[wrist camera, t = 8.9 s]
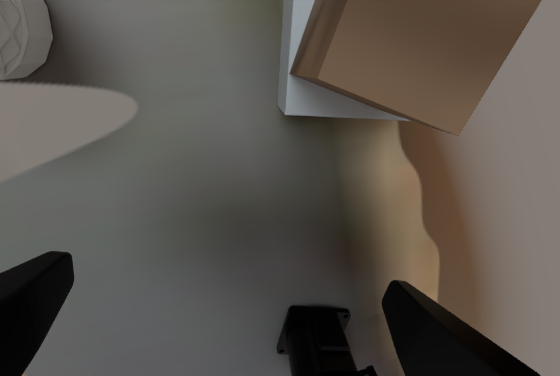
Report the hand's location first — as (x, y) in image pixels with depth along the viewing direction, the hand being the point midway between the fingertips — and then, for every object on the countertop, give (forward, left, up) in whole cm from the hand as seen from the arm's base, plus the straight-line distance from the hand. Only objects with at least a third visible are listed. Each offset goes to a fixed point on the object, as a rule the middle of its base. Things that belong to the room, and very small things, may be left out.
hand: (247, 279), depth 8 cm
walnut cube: (+8, -5, -9) cm, 13 cm away
